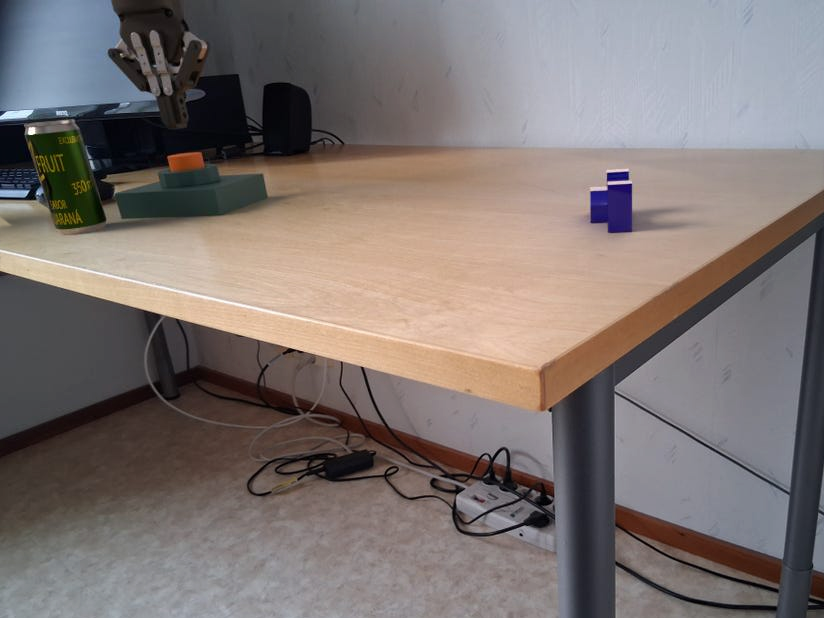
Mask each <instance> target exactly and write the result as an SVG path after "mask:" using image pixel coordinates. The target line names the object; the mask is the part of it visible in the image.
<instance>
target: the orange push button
mask: <svg viewBox="0 0 824 618" xmlns="http://www.w3.org/2000/svg"><path fill="white" fill-rule="evenodd" d="M202 153H203V152H200V151H195V152H184V153H176V154H171V155H168V156H166V157H167V162H168V165H169V168H170V170H171V171H185V170H193V169H199V168H203V167H205V166H204V164H205V162H204V159H203V154H202Z"/></svg>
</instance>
